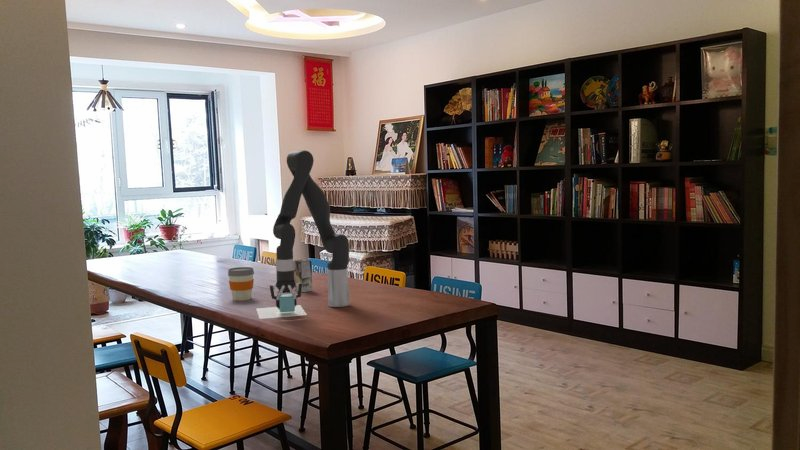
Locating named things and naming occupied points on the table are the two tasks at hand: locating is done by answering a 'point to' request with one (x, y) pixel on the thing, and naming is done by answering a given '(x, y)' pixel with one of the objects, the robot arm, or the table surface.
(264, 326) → the table surface
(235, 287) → the reusable coffee cup
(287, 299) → the card box
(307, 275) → the coffee box
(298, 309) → the mat
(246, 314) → the table surface
